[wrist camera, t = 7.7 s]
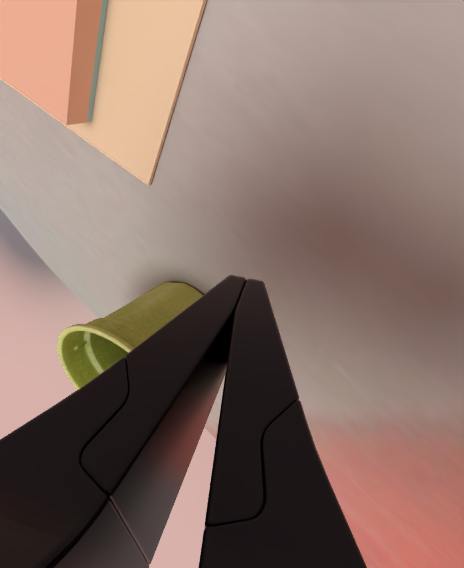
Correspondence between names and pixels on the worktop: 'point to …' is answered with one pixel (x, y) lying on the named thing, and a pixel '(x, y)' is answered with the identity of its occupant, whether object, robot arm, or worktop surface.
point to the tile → (53, 53)
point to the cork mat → (139, 79)
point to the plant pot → (120, 331)
